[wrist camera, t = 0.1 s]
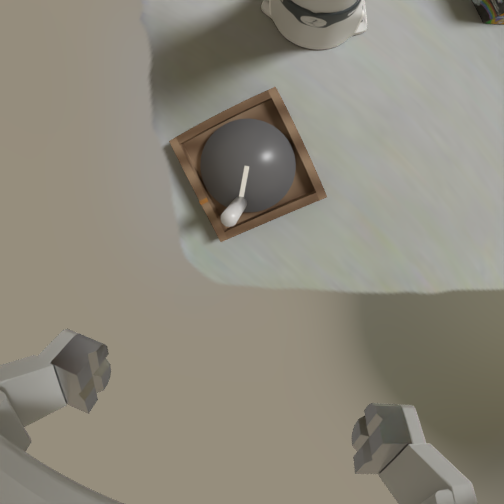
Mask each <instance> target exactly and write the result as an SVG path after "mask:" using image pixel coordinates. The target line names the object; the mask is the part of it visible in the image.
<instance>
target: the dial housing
mask: <svg viewBox="0 0 504 504" xmlns="http://www.w3.org/2000/svg"><path fill="white" fill-rule="evenodd" d="M238 119H257V120H261V121H264V122H266V123H269V124H271V125H272V126H274V127H276V128H277V129H278V130H280V131H281V132H282V133H283V134H284V136H285V137H286V138H287V139H288V141H289V143H290V144H291V147H292V149H293V152H294V156H295V162H296V170H295V176H294V180H293V183H292V185H291V187H290V189H289V191H288V192H287V194H286V195H285V196H284V197H283V198H282V199H281V200H280V201H279V202H278V203H276V204H275V205H273V206H272V207H270V208H268V209H265V210H262V211H258V212H243V213H242V214H241V216H240V218H239V219H238V221H237V223H236V224H235V225H234V226H232V227H227V226H225V225H223V224H222V222H221V214H222V213H223V212H224V211H225V209H226V208H227V207H225V206H224V205H222V204H221V203H219V202H218V201H217V200H216V199H215V198H214V197H213V196H212V195H211V194H210V193H209V191H208V190H207V188H206V186H205V184H204V182H203V179H202V175H201V167H200V163H201V155H202V151H203V149H204V146H205V144H206V142H207V140H208V139H209V138H210V136H211V135H212V134H213V133H214V132H215V131H216V130H217V129H218V128H220V127H221V126H223V125H224V124H226V123H229V122H231V121H234V120H238ZM169 142H170V144H171V146H172V148H173V150H174V152H175V154H176V156H177V158H178V160H179V162H180V164H181V166H182V168H183V170H184V172H185V174H186V176H187V178H188V180H189V182H190V184H191V186H192V188H193V190H194V191H195V193H196V195H197V197H198V199H199V202H200V204H201V205H202V207H203V209H204V211H205V213H206V215H207V217H208V219H209V220H210V222H211V224H212V226H213V228H214V230H215V232H216V234H217V236H218V238H219V240H220V241H221V242H222V241H224V240H227V239H229V238H231V237H234V236H236V235H238V234H241V233H243V232H245V231H248V230H250V229H252V228H255V227H257V226H259V225H262V224H264V223H266V222H269V221H271V220H273V219H276V218H278V217H280V216H283V215H285V214H288V213H290V212H292V211H295V210H297V209H300V208H302V207H304V206H307V205H309V204H312V203H314V202H316V201H319V200H321V199H324V198H326V197H327V195H326V193H325V191H324V188H323V186H322V184H321V181H320V179H319V177H318V174H317V172H316V170H315V168H314V165H313V163H312V161H311V159H310V156H309V154H308V152H307V150H306V148H305V146H304V143H303V141H302V139H301V137H300V135H299V133H298V131H297V129H296V127H295V124H294V122H293V120H292V118H291V116H290V114H289V112H288V110H287V108H286V106H285V104H284V102H283V100H282V98H281V96H280V94H279V93H278V91H277V89H276V87H274V88H272V89H269V90H267V91H265V92H263V93H260V94H258V95H256V96H254V97H252V98H250V99H248V100H245V101H243V102H241V103H239V104H237V105H235V106H233V107H231V108H229V109H227V110H225V111H223V112H221V113H219V114H217V115H215V116H214V117H212V118H210V119H208V120H206V121H204V122H202V123H200V124H199V125H197V126H195V127H193V128H191V129H190V130H188V131H186V132H184V133H182V134H181V135H179V136H177V137H176V138H174V139H172V140H170V141H169Z"/></svg>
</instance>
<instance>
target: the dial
mask: <svg viewBox="0 0 504 504" xmlns="http://www.w3.org/2000/svg"><path fill="white" fill-rule="evenodd" d="M200 167H201V175H202V179H203V182H204V184H205V186H206V188H207V190H208V191H209V193H210V194H211V195H212V196H213V197H214V198H215V199H216V200H217V201H218V202H219V203H221V204H222V205H224V206H225V207H227V208H226V209H225V211H224V212H223V213H222V214H221V222H222V224H223V225H225V226H227V227H232V226H234V225H235V224H236V223H237V221H238V219H239V218H240V216H241V214H242V213H243V212H258V211H262V210H265V209H268V208H270V207H272V206H273V205H275V204H276V203H278V202H279V201H280V200H281V199H282V198H283V197H284V196H285V195H286V194H287V192H288V191H289V189H290V187H291V185H292V183H293V180H294V176H295V170H296V162H295V156H294V152H293V149H292V147H291V144H290V143H289V141H288V139H287V138H286V137H285V136H284V134H283V133H282V132H281V131H280V130H278V129H277V128H276V127H274V126H272V125H271V124H269V123H266V122H264V121H261V120H257V119H238V120H234V121H231V122H229V123H226V124H224V125H223V126H221V127H220V128H218V129H217V130H216V131H215V132H214V133H213V134H212V135H211V136H210V138H209V139H208V140H207V142H206V144H205V146H204V149H203V151H202V155H201V163H200Z"/></svg>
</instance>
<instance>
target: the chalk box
mask: <svg viewBox="0 0 504 504" xmlns="http://www.w3.org/2000/svg"><path fill="white" fill-rule="evenodd" d="M472 1H473V3H474V5H475V7H476V9H477V10H478V12H479V15H480V17H481V19H482V21H483V23H485V24H504V0H472Z"/></svg>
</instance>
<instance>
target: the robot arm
mask: <svg viewBox="0 0 504 504" xmlns="http://www.w3.org/2000/svg"><path fill="white" fill-rule="evenodd" d="M268 2H269V3H268ZM261 10H262V11H263V12H264V13H265V14H266V15H267V16H269V17H270V18H272V20H273V21H274V23H275V25H276V26H277V28H278V30H279V31H280V32H281V34H282V35H283V36H284V37H285V38H287V39H288V40H289V41H291V42H293V43H294V44H296V45H299V46H301V47H304V48H308V49H316V50H323V49H330V48H333V47H336V46H338V45H340V44H342V43H343V42H345V41H346V40H347V39H348V38H350V37H351V36H354V35H358V34H362V33H364V32H365V31H366V30H367V18H366V8H365V0H263V2H262V4H261ZM361 21H362V22H361ZM107 355H108V349H107V346H106V345H105V344H103V343H100V342H98V341H95V340H93V339H91V338H88V337H86V336H84V335H81V334H78V333H76V332H74V331H72V330H70V329H65V330H63V331H62V332H61V333H60V334H59V335H58V336H57V337H56V338H55V339H54V340H53V341H52V342H51V343H50V344H49V345H48V346H47V347H46V348H45V349H44V350H43V351H42V352H41V353H40V355H38V356H35V355H33V356H30V357H26V358H23V359H20V360H16V361H13V362H9V363H6V364H3V365H0V504H124V503H121V502H119V501H116V500H114V499H111V498H109V497H107V496H105V495H102V494H100V493H98V492H96V491H94V490H92V489H89V488H87V487H85V486H83V485H81V484H79V483H77V482H75V481H74V480H71V479H70V478H68V477H66V476H64V475H62V474H61V473H59V472H57V471H55V470H53V469H52V468H50V467H48V466H47V465H45V464H43V463H42V462H40V461H39V460H37V459H35V458H34V457H32V456H31V455H29V454H28V453H26V452H25V451H26V450H27V448H28V447H29V445H30V443H31V438H30V436H29V435H28V433H27V431H26V430H25V428H24V427H25V426H27V425H29V424H31V423H33V422H35V421H37V420H39V419H41V418H43V417H45V416H47V415H49V414H50V413H53V412H55V411H57V410H59V409H61V408H62V407H64V406H66V405H67V404H68V405H70V406H72V407H75V408H77V409H79V410H81V411H84V412H86V413H89V412H90V411H91V409H92V408H93V406H94V405H95V403H96V401H97V400H98V399H97V393H98V392H101V391H103V390H104V389H105V387H106V386H107V384H108V382H109V379H110V374H111V368H110V363H109V362H108V361H107V359H106V357H107ZM364 412H365V416H363V417H362V418H360V419H358V421H357V422H356V424H355V425H354V428H353V432H352V446H353V447H354V448H355V449H356V451H357V453H356V454H355V455H354V457H353V458H354V466H355V474H379V477H380V478H381V479H382V481H383V482H384V484H385V485H386V486H387V488H388V489H389V491H390V492H391V493H392V495H393V496H394V498H395V499H396V500H397V502H398V503H399V504H478V503H477V499H476V495H475V492H474V488H473V485H472V483H471V482H470V481H469V480H468V479H467V478H466V477H465V476H464V475H463V474H462V473H461V472H460V471H459V470H458V469H456V468H455V467H454V466H453V465H452V464H451V463H450V462H449V461H448V460H447V459H446V458H445V457H444V456H443V455H442V454H441V453H440V452H439V451H437V450H436V449H435V448H434V447H433V446H432V445H431V444H430V443H426V441H425V438H424V435H423V431H422V428H421V425H420V422H419V418H418V415H417V413H416V409H415V407H414V406H413V405H397V404H378V403H377V404H376V403H371V404H369V405H368V406H367V407H366V409H365V410H364Z"/></svg>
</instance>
